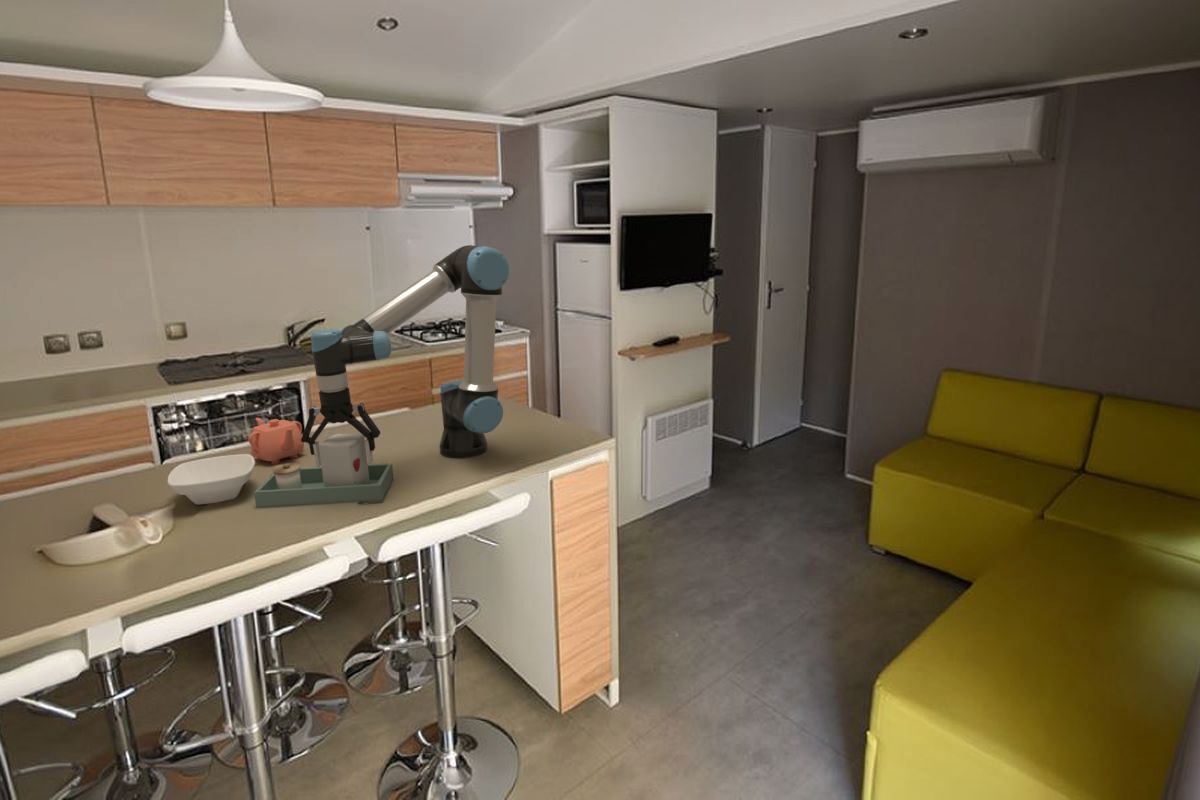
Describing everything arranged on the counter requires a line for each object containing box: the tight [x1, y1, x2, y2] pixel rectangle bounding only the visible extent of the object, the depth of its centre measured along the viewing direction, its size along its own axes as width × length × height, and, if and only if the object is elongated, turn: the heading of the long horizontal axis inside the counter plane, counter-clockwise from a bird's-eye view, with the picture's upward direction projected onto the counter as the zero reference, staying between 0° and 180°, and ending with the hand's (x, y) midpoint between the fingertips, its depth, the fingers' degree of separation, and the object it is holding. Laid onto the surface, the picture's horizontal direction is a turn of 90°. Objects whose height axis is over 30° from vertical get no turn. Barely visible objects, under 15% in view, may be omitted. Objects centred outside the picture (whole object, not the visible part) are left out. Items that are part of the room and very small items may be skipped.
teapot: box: [247, 417, 305, 465], centre depth 211 cm, size 15×17×13 cm
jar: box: [275, 470, 302, 489], centre depth 183 cm, size 6×6×7 cm
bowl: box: [167, 453, 256, 505], centre depth 183 cm, size 21×21×9 cm
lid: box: [272, 462, 301, 475], centre depth 181 cm, size 7×7×2 cm
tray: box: [253, 462, 395, 508], centre depth 184 cm, size 32×16×5 cm, turn 96°
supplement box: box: [319, 433, 370, 487], centre depth 183 cm, size 9×9×15 cm
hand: (345, 463), depth 183 cm, fingers open, 13 cm apart
